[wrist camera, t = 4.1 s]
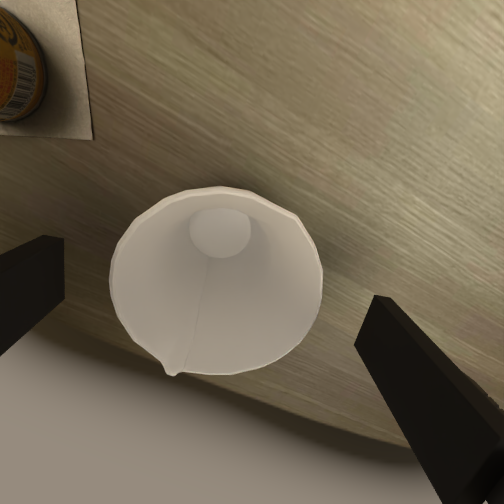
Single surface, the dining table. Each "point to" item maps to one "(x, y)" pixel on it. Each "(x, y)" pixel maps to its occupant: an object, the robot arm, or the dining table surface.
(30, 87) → the condiment
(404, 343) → the robot arm
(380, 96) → the dining table surface
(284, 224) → the cup
